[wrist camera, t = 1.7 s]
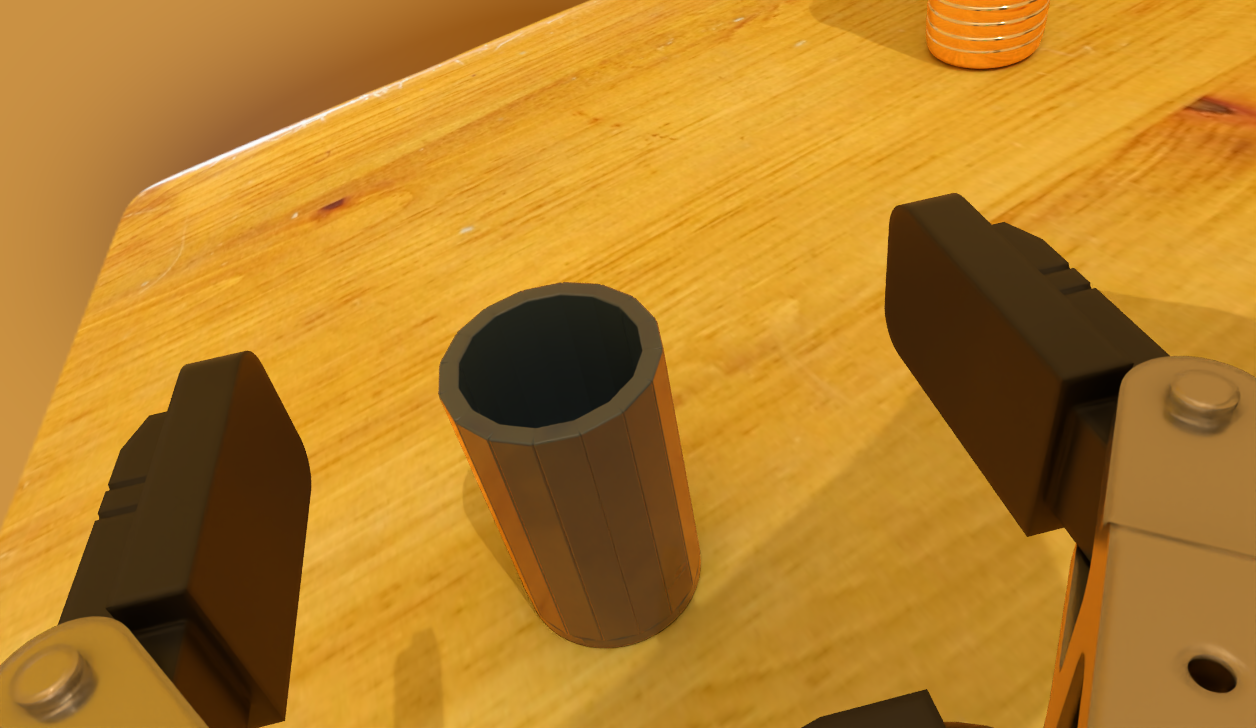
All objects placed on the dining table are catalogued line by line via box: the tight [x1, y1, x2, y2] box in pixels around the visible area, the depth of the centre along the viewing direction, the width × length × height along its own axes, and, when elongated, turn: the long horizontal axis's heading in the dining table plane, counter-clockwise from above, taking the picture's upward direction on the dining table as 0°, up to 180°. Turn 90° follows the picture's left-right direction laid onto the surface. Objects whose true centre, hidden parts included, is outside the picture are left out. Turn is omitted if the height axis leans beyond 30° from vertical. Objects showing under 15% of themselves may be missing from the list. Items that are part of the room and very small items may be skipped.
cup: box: [438, 282, 701, 648], centre depth 29 cm, size 6×6×11 cm
